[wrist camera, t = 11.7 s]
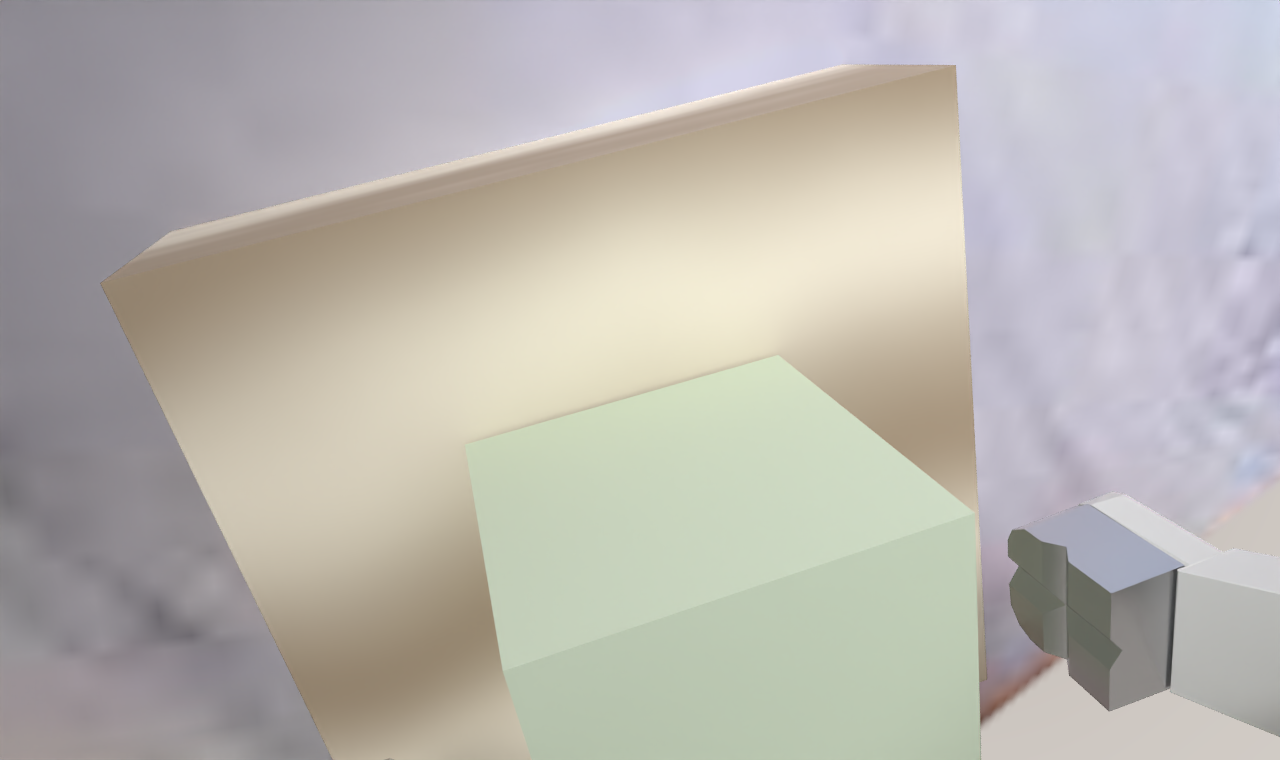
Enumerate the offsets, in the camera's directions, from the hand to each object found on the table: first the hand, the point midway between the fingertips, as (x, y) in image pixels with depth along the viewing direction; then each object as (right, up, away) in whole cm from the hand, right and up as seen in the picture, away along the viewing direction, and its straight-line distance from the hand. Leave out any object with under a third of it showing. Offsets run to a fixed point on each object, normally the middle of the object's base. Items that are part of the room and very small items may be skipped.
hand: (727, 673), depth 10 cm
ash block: (-2, +3, +7) cm, 8 cm away
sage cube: (-1, +1, +3) cm, 4 cm away
